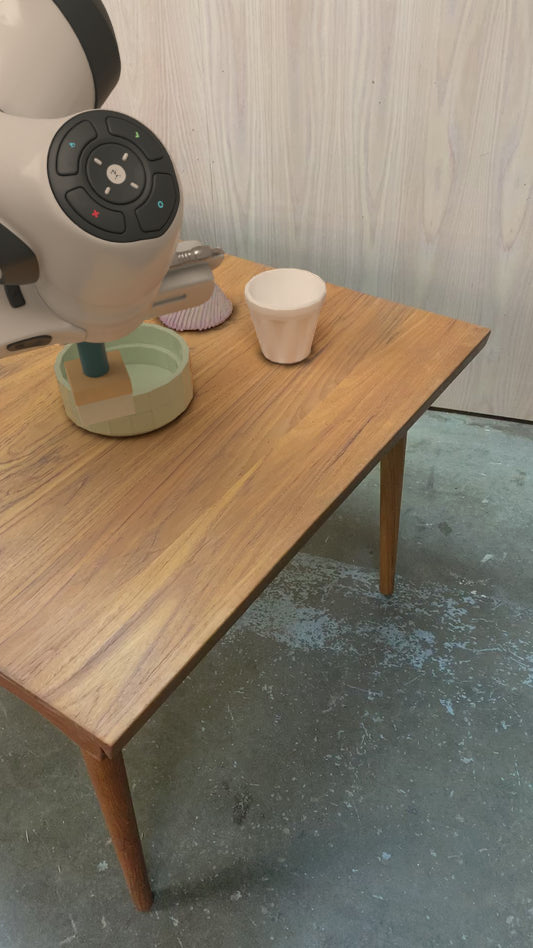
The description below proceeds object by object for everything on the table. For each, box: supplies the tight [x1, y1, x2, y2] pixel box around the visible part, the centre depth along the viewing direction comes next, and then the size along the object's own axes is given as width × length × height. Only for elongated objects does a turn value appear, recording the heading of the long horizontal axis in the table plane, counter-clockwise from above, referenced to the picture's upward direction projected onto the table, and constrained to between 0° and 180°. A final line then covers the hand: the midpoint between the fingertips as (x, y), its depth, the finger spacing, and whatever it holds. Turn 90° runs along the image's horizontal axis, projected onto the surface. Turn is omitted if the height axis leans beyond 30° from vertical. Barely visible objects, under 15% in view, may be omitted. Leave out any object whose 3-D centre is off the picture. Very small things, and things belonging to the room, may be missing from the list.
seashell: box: [158, 282, 233, 332], centre depth 107 cm, size 10×6×10 cm
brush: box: [64, 341, 136, 426], centre depth 69 cm, size 5×5×14 cm
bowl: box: [53, 322, 194, 437], centre depth 92 cm, size 15×15×6 cm
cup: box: [243, 267, 327, 366], centre depth 97 cm, size 10×10×9 cm
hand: (86, 330), depth 69 cm, fingers closed on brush, 2 cm apart
